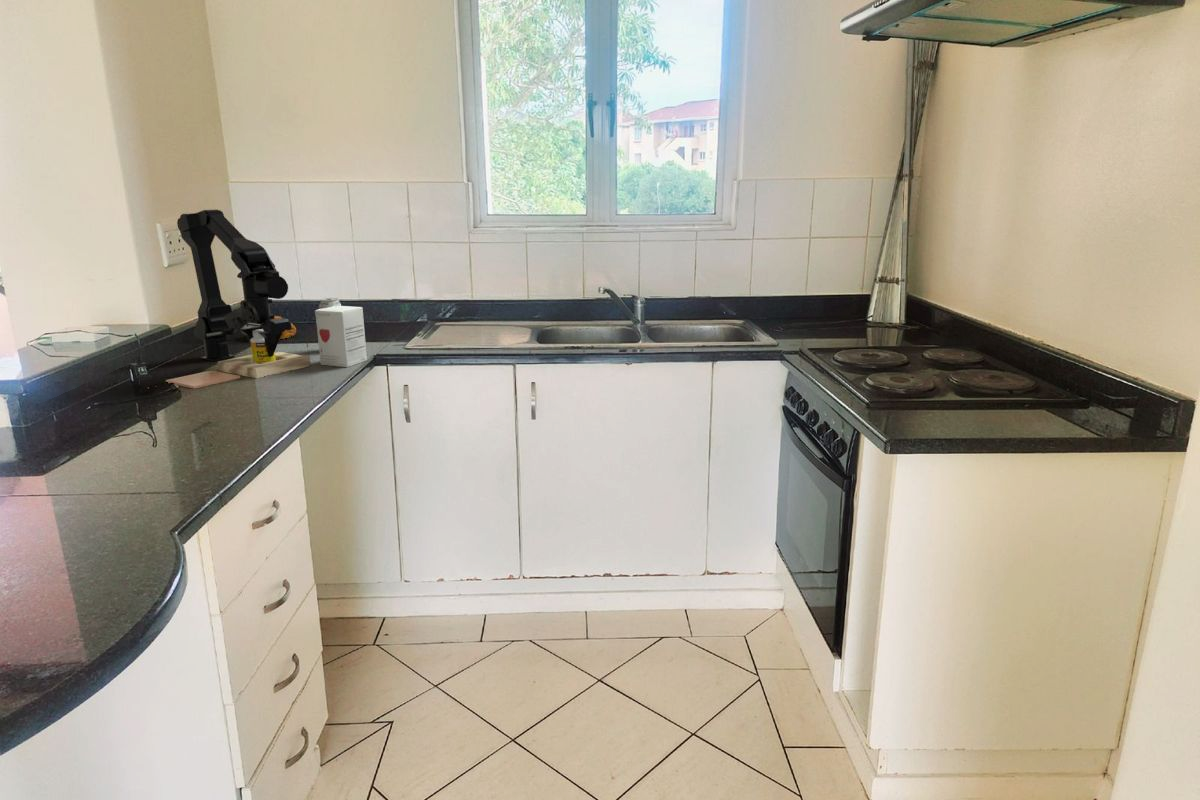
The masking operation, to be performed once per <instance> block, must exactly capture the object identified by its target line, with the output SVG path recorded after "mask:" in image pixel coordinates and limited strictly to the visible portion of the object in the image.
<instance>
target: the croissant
mask: <svg viewBox="0 0 1200 800" xmlns="http://www.w3.org/2000/svg"><path fill="white" fill-rule="evenodd" d="M274 318H275V319H276V318H283V317H282V316H280V315H279V316H278V315H274ZM291 325H292V329H291V330H285V332H283V333H282V335H281V337H280V339H283V340H286V339H285V338H287V339H289V337H291V336H292V337H294V336H295V335H296V333H297V328H296V326H295V325H294V324H293V323H292V322H291ZM292 337H291V338H292ZM280 339H279V341H281V340H280Z"/></svg>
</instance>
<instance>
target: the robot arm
mask: <svg viewBox="0 0 1200 800" xmlns="http://www.w3.org/2000/svg"><path fill="white" fill-rule="evenodd" d="M176 223H177V224H176V225H177V229H178V230H179V232H180V235H181V236H180V237H181V238H182V240H183V241H184V242H185V243H186V245H188V246H189V248H190V251H191V255H192V259H193V264H194V265H193V266H194V268H195V274H196V279H197V284H198V289H199V292H200V293H199V294H200V298H201V302H200V304H199V308H198V309H197V317H198V320H197V322H196V324H195V327H193V328H194V329H193V334H194V335H193V336H194V337H195V339H198V340H203V341H202V342H203V347H204V356H200V359H201V360H206V361H211V362H218V361H223V360H228V359H232V358H236V357H235V354H232V353H231V354H230V350H229V349H230V348H229V343H228V338H227V336H233V335H234V329H235V330H236V331H237V332H240V333H241V334H243V335H244V336H245V338H246V339H247V342H248V344H249V345H250V347H251V342H250V340H251V338H253V330H258V329H263V330H264V331H263V332H259V334H260V335H262V336H263V337H264V340H265V344H266V349H267V353H268V356H269V357H272V356H273V355H274V352H275V351H276V349H277V347H278V344H279V341H280V340H279V339H280V337H281V335H282V333H283V332H285V330H291V329H292V325H291V323H292V321H291V320H290V319H288V318H285V317H282V318H276V319H275V318H274V316H275V315H274V314H271V309H270V304H273V299H277V300H280V299H283V298H284V297H285V296H287V293H288V292H289V284H288V283H287V280H286V279H285V278H284V277H283V276H280V272H279V270H277V268H276V265H275V263H274V262H273V261H272V259H271V257H270V256H269V253H268V252H267V251H266V248H264V247H263V246H262V245H260V244H259V243H257V242H256V241H253V240H249V239H247V237H245V236H244V235H243V234H242V233H241V232H240V231H239V230H238V229H237V228H236V227H235V226H234V224H232V223H231V222H230V221H229V220H228V219H227V218H226V217H225V215H224V212H223V211H222V210H219V209H203V210H200V211H198V212H195V213H182V214H180V216H179V218H177V222H176ZM215 237H216V238H217V239H218V240H219V241H220V242H221V243H222V244H223V245H224V246H225V247H226V248H227V249H228V250H229V251H230V253H231V254H230V260H231V261H232V262H233V264H234V265H235V267H236V268H237V269H238V270H240V272H238V274H237V276H236V277H237V278H238V279H241V285H242V292H243V293H242V294H243V299H244V300H240V303H239V305H240V307H238V308H236V309H234V310H232V306H231V304H227V303H226V302H225V301H224V300H223V299H222V298H223V297H222V295H221V290H220V284H219V279H218V275H217V270H216V265H215V260H214V256H213V250H212V245H213V242H214V239H215Z"/></svg>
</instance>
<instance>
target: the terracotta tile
mask: <svg viewBox="0 0 1200 800" xmlns="http://www.w3.org/2000/svg"><path fill="white" fill-rule="evenodd" d="M237 379H241V375H237V374H232V373H227V372H222V371H217V370H214V369H213V370H207V371H202V372H198V373H193V374H189V375H183V376H180V377H174V378H170V379H165V383H166V382H168V383H167V384H170V383H174V384H173V385H175V384H176V386H179V387H180V386H181V387H184V388H185V387H186V388H190V389H199V388H203V387H208V386H213V385H215V384H216V385H217V384H222V383H226V382H228V381H235V380H237Z"/></svg>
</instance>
